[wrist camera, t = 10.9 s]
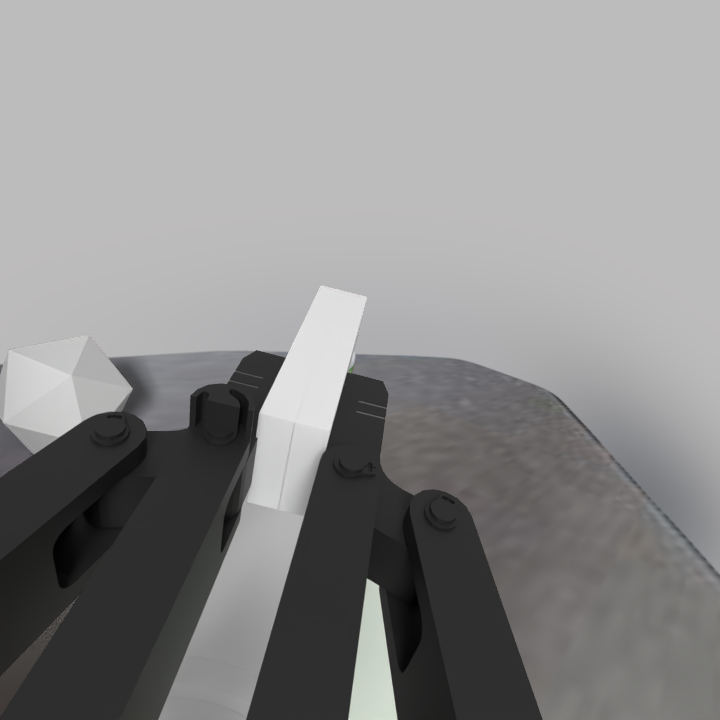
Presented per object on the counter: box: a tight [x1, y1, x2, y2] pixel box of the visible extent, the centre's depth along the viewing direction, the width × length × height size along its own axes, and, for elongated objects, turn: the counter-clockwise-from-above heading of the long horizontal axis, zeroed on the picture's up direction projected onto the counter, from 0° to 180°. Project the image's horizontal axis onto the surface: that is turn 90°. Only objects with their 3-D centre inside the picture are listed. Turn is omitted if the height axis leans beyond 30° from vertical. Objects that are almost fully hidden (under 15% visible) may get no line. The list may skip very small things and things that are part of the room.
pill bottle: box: [158, 493, 304, 720], centre depth 27 cm, size 8×8×15 cm
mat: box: [348, 579, 397, 720], centre depth 31 cm, size 16×18×1 cm
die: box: [0, 335, 133, 454], centre depth 37 cm, size 8×9×10 cm
